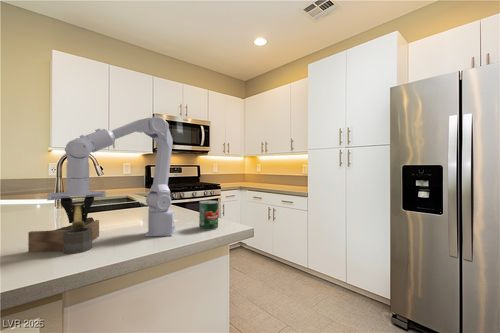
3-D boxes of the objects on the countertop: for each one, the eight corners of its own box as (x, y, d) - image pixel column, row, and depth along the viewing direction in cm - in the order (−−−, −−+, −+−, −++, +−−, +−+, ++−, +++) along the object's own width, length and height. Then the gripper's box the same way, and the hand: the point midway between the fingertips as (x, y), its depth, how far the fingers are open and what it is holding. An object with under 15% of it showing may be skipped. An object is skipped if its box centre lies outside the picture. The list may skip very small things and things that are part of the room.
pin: (85, 225, 76) (85, 203, 76) (80, 228, 73) (80, 205, 73) (75, 226, 75) (75, 203, 75) (70, 228, 73) (70, 205, 72)
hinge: (108, 236, 88) (108, 219, 88) (84, 253, 71) (84, 233, 71) (57, 237, 85) (57, 221, 85) (20, 256, 69) (20, 235, 69)
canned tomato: (205, 224, 106) (205, 199, 106) (221, 226, 103) (221, 200, 103) (195, 229, 99) (195, 202, 98) (212, 231, 96) (212, 203, 96)
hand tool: (55, 242, 81) (55, 228, 81) (45, 241, 82) (45, 228, 82) (99, 227, 100) (99, 216, 100) (91, 227, 101) (91, 216, 101)
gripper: (105, 176, 81) (105, 216, 81) (50, 177, 74) (50, 221, 74) (105, 178, 75) (105, 221, 75) (45, 179, 68) (45, 227, 68)
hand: (78, 221), depth 74 cm, fingers closed on pin, 3 cm apart
